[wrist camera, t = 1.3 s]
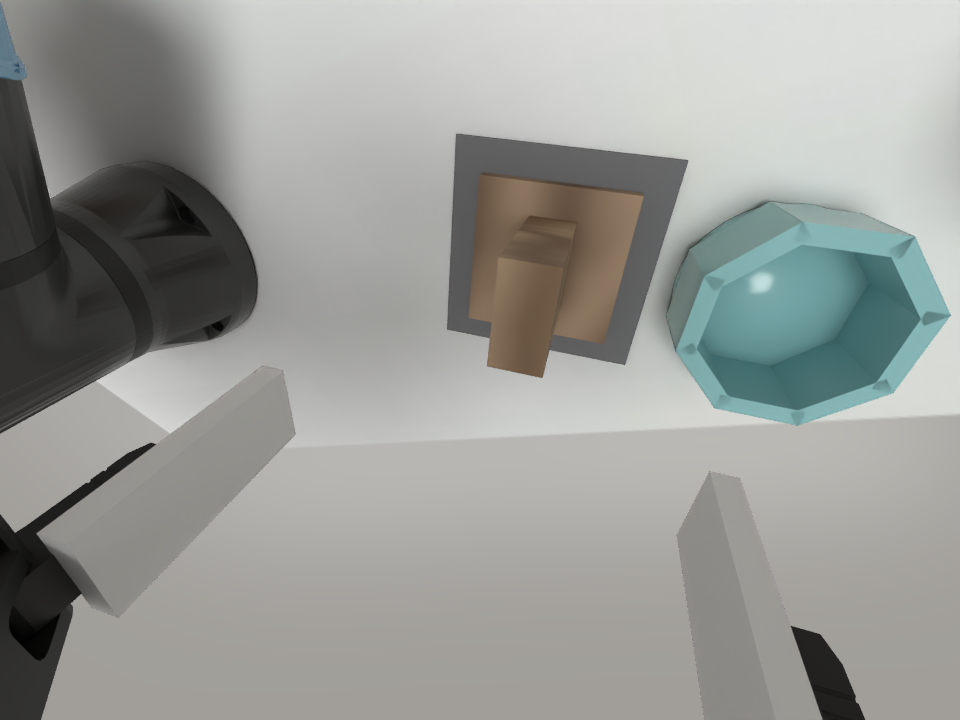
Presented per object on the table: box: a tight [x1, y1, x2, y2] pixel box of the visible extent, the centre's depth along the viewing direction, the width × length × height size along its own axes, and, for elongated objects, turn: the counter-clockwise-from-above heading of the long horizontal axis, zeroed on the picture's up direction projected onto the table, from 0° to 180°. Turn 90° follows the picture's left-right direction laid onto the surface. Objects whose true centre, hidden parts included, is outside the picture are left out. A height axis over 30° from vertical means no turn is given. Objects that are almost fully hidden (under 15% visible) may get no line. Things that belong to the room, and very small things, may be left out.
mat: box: [447, 134, 688, 365], centre depth 30 cm, size 14×14×1 cm
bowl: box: [666, 202, 951, 426], centre depth 25 cm, size 11×11×6 cm
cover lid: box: [469, 172, 644, 378], centre depth 25 cm, size 10×10×10 cm
